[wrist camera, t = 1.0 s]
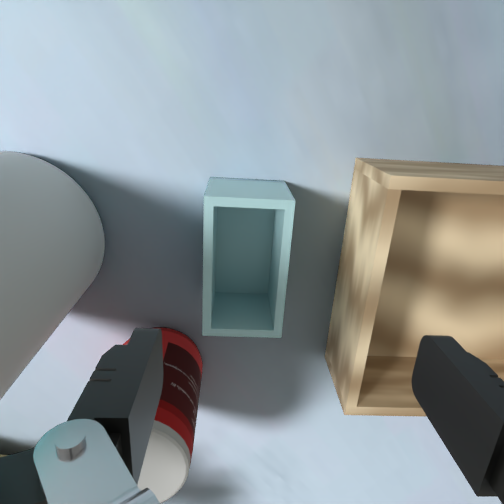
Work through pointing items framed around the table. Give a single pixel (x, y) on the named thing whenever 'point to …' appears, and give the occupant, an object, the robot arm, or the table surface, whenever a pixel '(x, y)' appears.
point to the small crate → (245, 256)
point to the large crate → (415, 277)
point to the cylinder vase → (41, 255)
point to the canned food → (173, 417)
